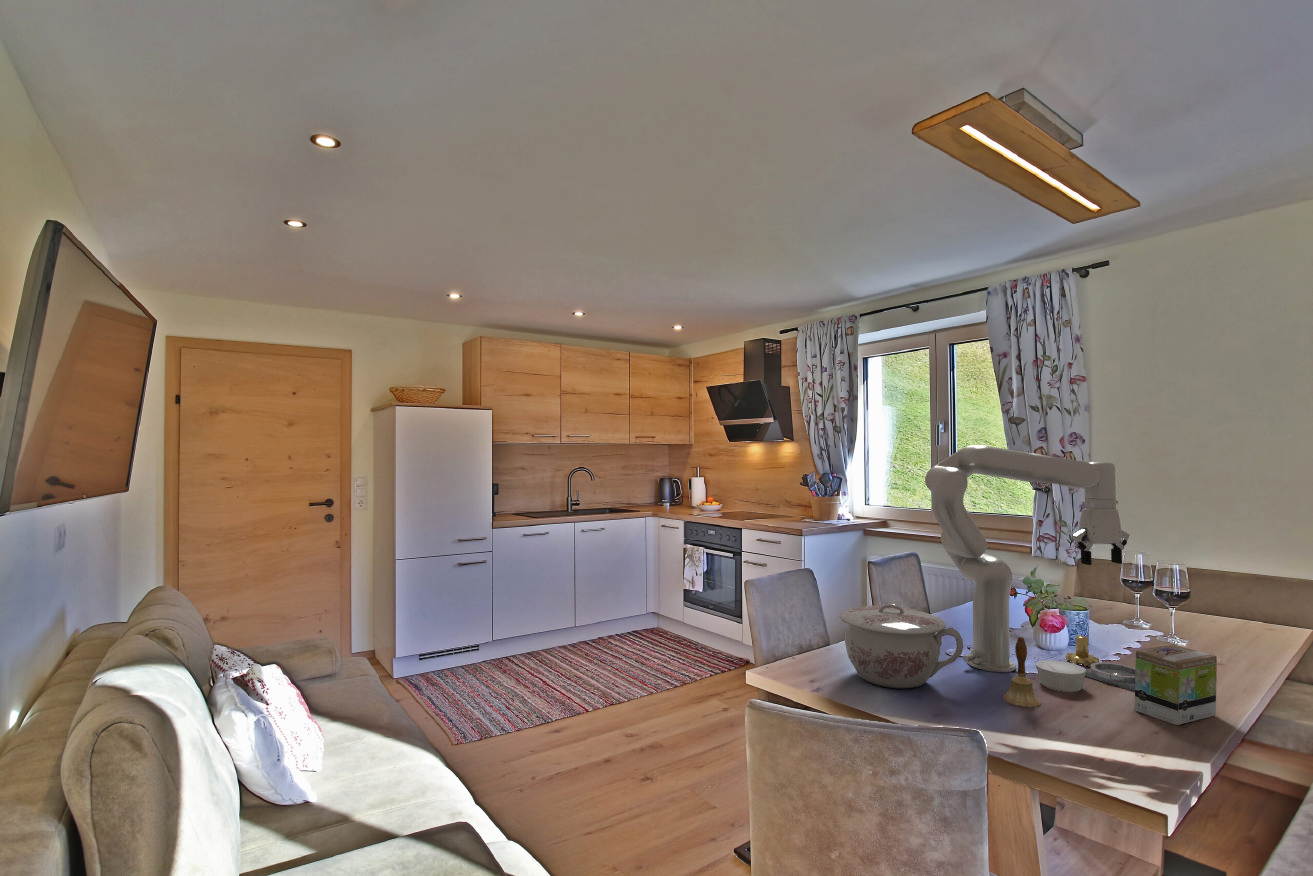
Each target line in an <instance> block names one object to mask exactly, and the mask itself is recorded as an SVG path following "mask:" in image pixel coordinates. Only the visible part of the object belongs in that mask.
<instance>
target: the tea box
mask: <svg viewBox="0 0 1313 876" xmlns="http://www.w3.org/2000/svg"><path fill="white" fill-rule="evenodd" d="M1134 668H1135V691H1134V701H1133V702H1134V711H1136V712H1139V713H1142V714H1144V715H1147V716H1150V717H1152V718H1155V719H1158V720H1161V721H1164V722H1166V723H1169V724H1171V725H1176V726H1180V725H1183V724H1187V723H1190V722H1195V721H1198V720H1202V719H1208V718H1212V717H1211V716H1214V717H1215V716H1217V715H1216V714H1217V712H1216V711H1217V680H1218V679H1217V677H1218V676H1217V673H1218V671H1217V670H1218V659H1217V655H1215V654H1210V653H1208V652H1207V653H1206V652H1203V651H1200V650H1195V649H1191V648H1188V647H1185V646H1181V645H1176V644H1173V643H1172V644H1166V645H1163V646H1162V645H1160V646H1157V647H1150V648H1144V649H1138V650H1136V651H1135V667H1134Z"/></svg>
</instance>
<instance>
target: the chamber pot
mask: <svg viewBox="0 0 1313 876" xmlns="http://www.w3.org/2000/svg"><path fill="white" fill-rule="evenodd" d="M839 618H840V619H841V621H842V622H843V623H845V624H847V625H848V627H847V628H846V630H845V633H844V646H845V650H846V653H847V654H846V655H847V658H848V659H849V661H850V662H851V664H852V666H853V668H854V669H855V671H856V673H857V674H858V675H859V677H860V678H862V679H863V680H865V681H867V682H868V683H871V684H874V685H876V686H879V687H883V688H888V689H895V690H896V689H898V690H900V689H901V690H903V689H904V690H905V689H912V688H917V687H920V686H923V684H925V683H926V682H927V681H928V680H929V679H931V678H932V677H933V676H935V675H936V674H937V673H938V672H939V671H940V670H941V669H943V668H944V667H946V666H948V665H950V664H952V663H954V662H955V661H956V660H957V659H958V658H959V657H960V656H961V655H962V654H963V650H964V639H963V637H962V635H961V633H959V631H958V630H957V629H955V628H954V627H953V626H949V627H947V622H945V621H944V620H943V619H942V618H941V617H939V616H936V615H933V614H931V613H928V612H925V611H920V610H917V609H913V608H909V607H907V608H906V607H901V606H899V605H897V604H894V603H886V604H883V605H868V606H867V605H865V606H858V607H851V608H848V609H846V610H843V611H841V612H840V614H839ZM944 636H950V637H953V638H954V639H955V644H956V647H955V652H954V653H952V654H951V656H949V657H948V658H946V659H943V660H940V656H941V647H942V646H943V637H944Z"/></svg>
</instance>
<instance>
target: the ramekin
mask: <svg viewBox="0 0 1313 876" xmlns="http://www.w3.org/2000/svg"><path fill="white" fill-rule="evenodd" d="M1035 667H1036V670H1037V674H1038V680H1039V682H1040V684H1041V685H1042V686H1043V687H1046V688H1047V689H1049V688H1050V689H1049V690H1052V689H1053V690H1054V691H1056V690H1057V691H1056V692H1062V691H1063V693H1077V692H1079V691H1081V690H1082V688H1083V686H1084V681H1085V680H1084V679H1085V677H1086V676H1085V675H1086V671H1085V670H1086V669H1085V668H1084V667H1082V666H1081V665H1076V664H1072V663H1071V662H1069V661H1062V660H1051V659H1048V660H1045V659H1044V660H1040V661H1037V662H1036V663H1035Z"/></svg>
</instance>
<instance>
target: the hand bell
mask: <svg viewBox="0 0 1313 876" xmlns="http://www.w3.org/2000/svg"><path fill="white" fill-rule="evenodd" d="M1014 649H1015V651H1014V652H1015V657H1016V660H1017V675H1016V676H1013V677H1012V678H1011V682H1010V686H1009V689H1008V691H1006V693H1004V694H1003V696H1002V699H1003V700H1004V701H1005V702H1006V703H1008V704H1010V705H1013V706H1017V707H1022V708H1030V709H1032V707H1034V708H1037V707H1040V706H1041V704H1042V703H1041V701H1040V699H1039V698H1037V697H1038V696H1037V695H1035V692H1034V686H1033V682H1032V680H1031V679H1029V678H1028V677H1027V674H1026V659H1027V656H1028V648H1027V644H1026V641H1025V638H1024V637H1022V636H1018V637H1017V639H1016V643H1015V647H1014Z"/></svg>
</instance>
